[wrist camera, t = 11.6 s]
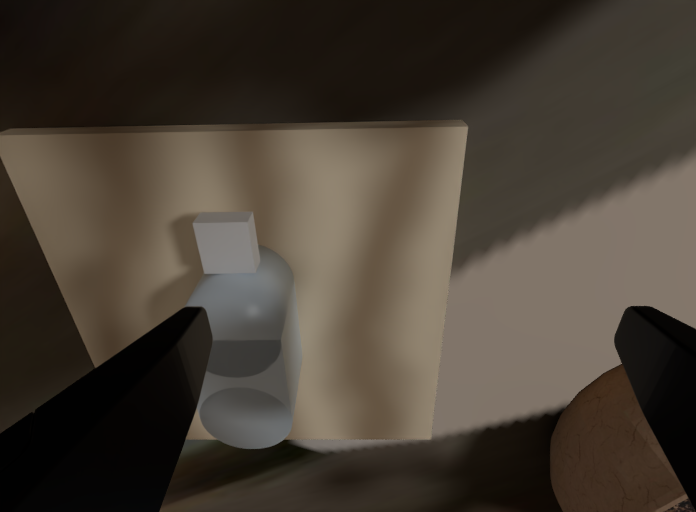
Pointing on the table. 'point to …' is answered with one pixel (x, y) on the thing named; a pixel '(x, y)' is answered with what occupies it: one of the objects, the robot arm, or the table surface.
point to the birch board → (272, 232)
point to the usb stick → (246, 333)
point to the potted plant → (611, 454)
